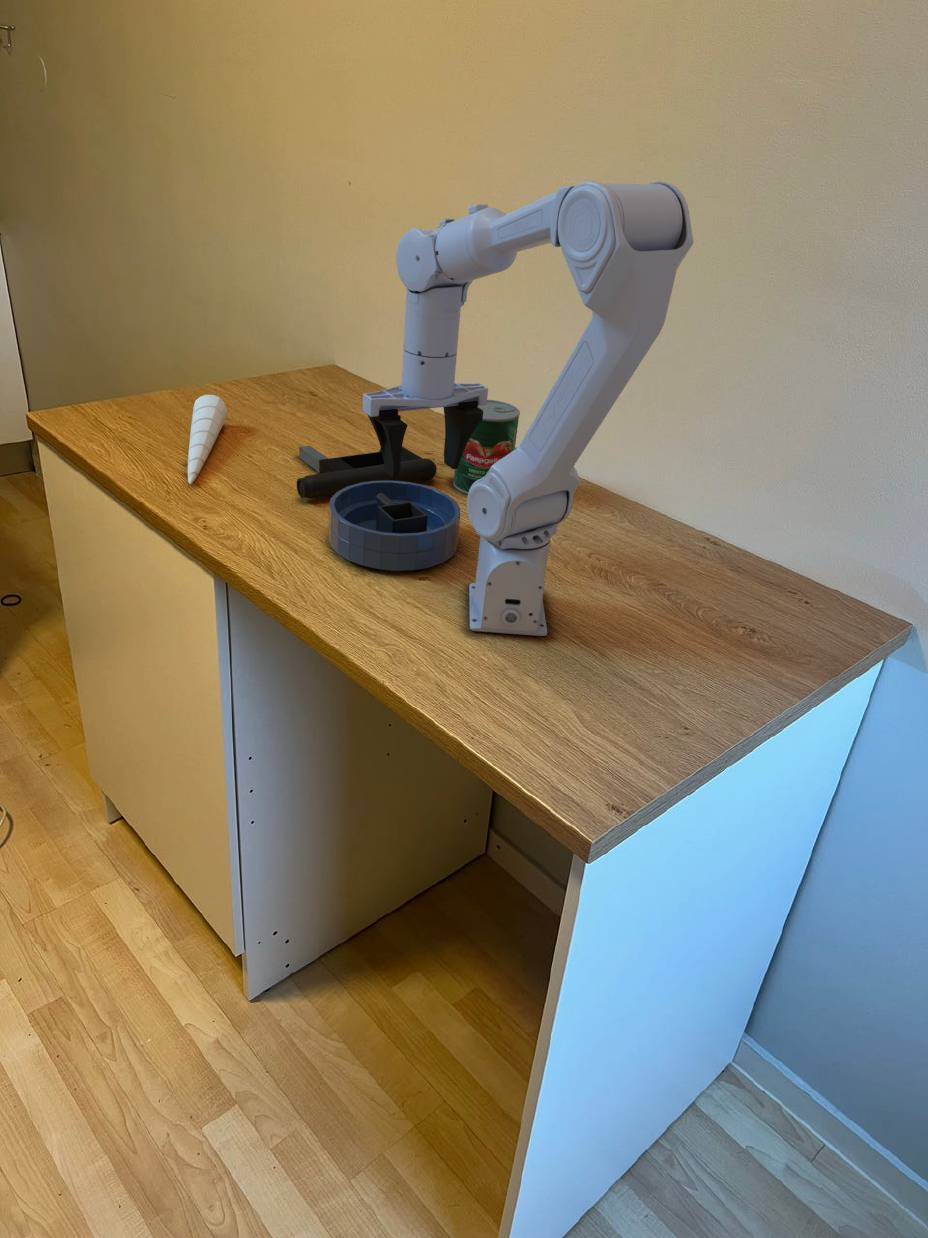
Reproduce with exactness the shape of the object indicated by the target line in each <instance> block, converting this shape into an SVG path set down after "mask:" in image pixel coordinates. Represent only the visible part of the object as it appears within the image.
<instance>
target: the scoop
mask: <svg viewBox="0 0 928 1238" xmlns="http://www.w3.org/2000/svg"><path fill="white" fill-rule="evenodd" d="M376 501H377V502H378V503H379V504H380V505H381V506H377V523H376V531H379V532H386V533H399V534H403V533H419V532H425V531H427V518H428V516H427V515H426V514H425V513H424V512H423V511H422V510H420V509H419V508H418V507H417V506H416V505H415V504H413V503H412V502H411V501H410V502H404V503H397V504H394V503H393V502H392V501H391V500H390V499H389V498H387V497H386V496H385V495H384V494H383V493H379V494H377V495H376Z"/></svg>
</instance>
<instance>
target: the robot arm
mask: <svg viewBox="0 0 928 1238" xmlns="http://www.w3.org/2000/svg"><path fill="white" fill-rule="evenodd" d="M690 216H691V215H690V211H689V207H688V203H687V201H686V198H685V196H684V194H683V192H682V191H681V190H680V189H679V188H678V187H677V186H676V185H674V184H672V183H671V182H668V181H655V182H650V183H602V182H599V181H594V180H588V181H587V180H586V181H583V182H580V183H578V184H576V185H570V186H569V185H567V186H561V187H559V188H558V189H557V190H556V191H554V192H552V193H550V194H548V195H545V196H544V197H541V198H539V199H536V200H535V201H532V202H530V203H528V204H526V205H524V206H521V207H519V208H517V209H515V210H513V211H511V212H509V213H507V214H506V213H505V212H504V211H503V210H500V209H499V208H496V207H489V205H488V204H487V203H479V204H478V203H475V204H473V205H470V206H469V207H468V214H467V215H464V216H462V217H460V218H457V219H455V218H444V219H441V220H440V221H439V223H438V225H439V226H437V227H436V228H435V229H422V228H416V227H412V228H410V229H409V230H408V231H407V232H406V233H404V234H403V235H402V237H401V238H400V240H399V242H398V245H397V248H396V257H395V258H396V261H395V263H396V269H397V273H398V277H399V280H400V281H401V283H402V284H403V286H404V287H405V288H406V292H405V293H406V295H405V314H404V332H403V333H404V334H403V348H402V349H403V351H402V368H401V369H402V370H401V385H398V386H393V387H389V388H386V389H382V390H377V391H373V392H367V393H366V392H365V393H362V412H363V413H365V414H366V415H367V418H368V419H369V421H370V423H371V425H372V427H373V430H374V432H375V435H376V437H377V440H378V443H379V447H380V449H381V450H382V455H383V459H384V465H385V472H386V473H388V474H389V475H390V476H391V477H393V478H395V477H399V473H400V465H401V449H402V447H403V443H404V439H405V435H406V431H407V429H408V426H409V425H408V424H407V423H406V422H405V421H403V420H402V419H401V418H402V417H401V416H402V415H399V412H408V411H417V410H418V411H419V410H427V409H437V408H438V409H439V408H443V415H444V417H443V418H444V445H443V447H444V448H443V463H444V464H445V465H446V466H447V467H449V468H450V469H451V470H455V469H457V468H458V466H459V463H460V460H461V457H462V454H463V452H464V449H465V447H466V445H467V443H468V440H469V439H470V437H471V435H472V433H473V432H474V430H475V429H476V427H477V426H478V424H479V423H480V422H481V421H482V419H483V410H482V409H480V408H478V405H486V404H487V400H488V394H489V388H488V386H485V385H483V384H481V383H479V382H477V383H459V382H458V383H456V381H455V380H456V370H457V356H458V345H459V336H460V335H459V333H460V322H461V321H460V320H461V311H462V310H461V309H462V307H463V306H465V303H466V302H467V296H468V290H469V287H470V285H472V283H473V282H474V281H475V280H479V279H481V278H485V277H488V276H491V275H495V274H498V273H501V272H503V271H506V270H508V269H509V268H510V267H511V266H512V265H513V264H514V262H515V260H516V258H517V255H518V253H519V252H522V251H526V250H529V249H533V248H537V247H541V246H545V245H548V244H551V245H552V246H553V247H555V248H560V249H561V252H562V255H563V257H564V259H565V261H566V264H567V267H568V269H569V272H570V274H571V276H572V279H573V281H574V284H575V286H576V290H577V291H578V294H579V296H580V298H581V302H582V304H583V305H584V306H585V307H586V308H588V309H589V310H590V311H591V313H592V316H591V319H590V321H589V323H588V324H587V326H586V328H585V330H584V332H583V333H582V335H581V337H580V339H579V340H578V342H577V344H576V345H575V348H574V349H573V350H572V352H571V354H570V356H569V357H568V360H567V361H566V363H565V365H564V367H563V368H562V370H561V372H560V373H559V375H558V376H557V379H556V380H555V382H554V384H553V386H552V387H551V389H550V391H549V393H548V395H547V396H546V398H545V400H544V402H543V403H542V405H541V407H540V409H539V410H538V412H537V414H536V416H535V418H534V419H533V421H532V423H531V424H530V426H529V428H528V430H527V432H526V433H525V435H524V437H523V439H522V440H521V442H520V444H519V445H518V447H517V448H515V450H514V451H512V452H511V453H509V454H508V455H506V456H505V457H503V458H502V459H500V460H499V461H498V462H496V463H495V464H493V465H492V466H491V468H490V469H489V471H488V473H487V474H486V475H485V476H484V477H483V478H481V479H479V480H477V481H475V482H474V483H473V484H472V486H471V488H470V490H469V493H468V495H467V499H466V511H467V516H468V519H469V521H470V524H471V526H472V527H473V529H474V531H475V533H476V535H479V537H480V539H479V545H478V546H479V547H478V556H477V563H476V564H477V566H476V574H475V581H474V582H472V583H470V584H468V585H469V587H468V599H469V600H468V602H469V630H471V631H473V632H483V633H494V634H495V633H496V634H509V635H510V634H511V635H524V636H536V637H545V636H547V635H548V627H547V621H546V615H545V607H544V601H543V599H544V592H545V585H546V584H545V583H546V581H545V577H546V571H547V564H548V557H549V551H550V545H551V539H552V537H553V536H555V535H557V530H558V524H561V523H563V522H564V521H565V520H566V519H568V517H569V516H570V514H571V511H572V508H573V503H574V502H573V501H574V496H575V493H576V491H577V489H578V487H579V485H580V484H581V478H580V476H579V474H578V473H579V472H578V471H577V469H576V467H575V465H576V463H577V462H578V461H579V459H580V457H581V456H582V454H583V453H584V451H585V449H586V448H587V446H588V445H589V443H590V442H591V440H592V439H593V438H594V435H595V434H596V432H597V431H598V429H599V428H600V426H601V425H602V423H603V421H604V420H605V419H606V417H607V415H608V414H609V412H610V411H611V410H612V408H613V406H614V405H615V404H616V402H617V400H618V399H619V397H620V396H621V393H622V392H623V391H624V389H625V388H626V386H627V384H628V383H629V381H630V380H631V378H632V377H633V375H634V374H635V373H636V371H637V370H638V367H640V364H641V363H642V361H643V360H644V358H645V357H646V355H647V354H648V352H649V351H650V349H651V347H652V346H653V344H654V343H655V341H656V340H657V338H658V337H659V335H660V333H661V331H662V329H663V327H664V325H665V322H666V318H667V314H668V310H669V305H670V301H671V297H672V292H673V288H674V284H675V279H676V275H677V271H678V268H679V267H680V265H681V264H682V262H683V261H684V259H685V258H686V256H687V254H688V253H689V251H690V250H691V247H693V245H694V236H693V230H692V223H691V217H690Z"/></svg>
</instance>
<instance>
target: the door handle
mask: <svg viewBox="0 0 928 1238" xmlns="http://www.w3.org/2000/svg"><path fill="white" fill-rule="evenodd" d="M298 450H299V451H298V452H299V453H298V455H299V459H300V460H301V461H303V462H304V463H305V464H307V465H308V466H309V467H310V468H312V469H314V470H315V471H316V472H317V473H315V474H308V475H305V476H303V477H299V478H297V479H296V491H297V494H298V496H299V497H300V498H301V499H305V498H306V499H309V500H310V499H311V500H314V499H320V498H324V497H332V496H333V495H334V494H335V493H337V492H338V491H340V490H342V489H343V488H345V487H348V486H351V485H354V484H358V483H362V482H370V481H403V482H411V483H420V482H426V481H430V480H432V479H434V477H435V476H436V474H437V469H438V468H437V465H436V463H435V462H434V460H432V459H430V458H423V457H421V456H419V455H418V454H416V453H414V452H413V451H411V450H409V449H408V448H406V447H404V446H402V449H401V465H400V473H399V477H395V478H393V477H391V476H390V475H389V474H388V473H386V472H385V465H384V459H383V455H382V450H381V448H380V449H379V451H375V452H367V453H360V454H353V455H352V454H351V455H346V456H338V457H330V458H329V457H328V456H326V455H325V454H324V453H321V452H320V451H318V450H317V449H316V448H314V447H313V446H311V445H303V446H299V448H298Z"/></svg>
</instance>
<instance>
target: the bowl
mask: <svg viewBox="0 0 928 1238" xmlns="http://www.w3.org/2000/svg"><path fill="white" fill-rule="evenodd" d="M379 493H383V494H384V495H385V496H386V497H387V498H389V499H390V500H391V501H392V502H393V503H394V504H397V503H404V502H410V501H411V502H412V503H413V504H415V505H416V506H417V507H418V508H419V509H420V510H422V511H423V512H424V513H425V514H426V515H427V516H428V518H427V531H425V532H419V533H403V534H399V533H386V532H379V531H376V523H377V506H381V505H380V504H379V503H378V502H377V501H376V495H377V494H379ZM330 497H331V498H330V501H329V503H328V538H327V539H328V542H329V545H330V547H331V548H332V549H333V550H334V551H335V552H336V553H337V555H339V556H341V557H342V558H344V559H346V560H347V561H349V562H352V563H354V564H357V565H359V566H363V567H368V568H372V569H376V570H382V571H391V572H393V571H394V572H405V571H407V572H408V571H417V570H423V569H428V568H429V569H430V568H432V567H435V566H438V565H440V564H443V563H445V562H446V561H448V560H449V559H451V558H452V557H453V556H454V555H455V553H456V552H457V550H458V543H459V533H460V523H461V507H460V506H459V504H458V502H457V501H456V500H455V499H454V498H452V497H451V496H450V495H449V494H447V493H446V492H444V491H441V490H439V489H437V488H435V487H431V486H428V485H425V484H421V483H417V482H414V483H411V482H403V481H370V482H362V483H358V484H354V485H351V486H348V487H345V488H343V489H342V490H340V491H338V492H337V493H335V494H334V495H332V496H330Z"/></svg>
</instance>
